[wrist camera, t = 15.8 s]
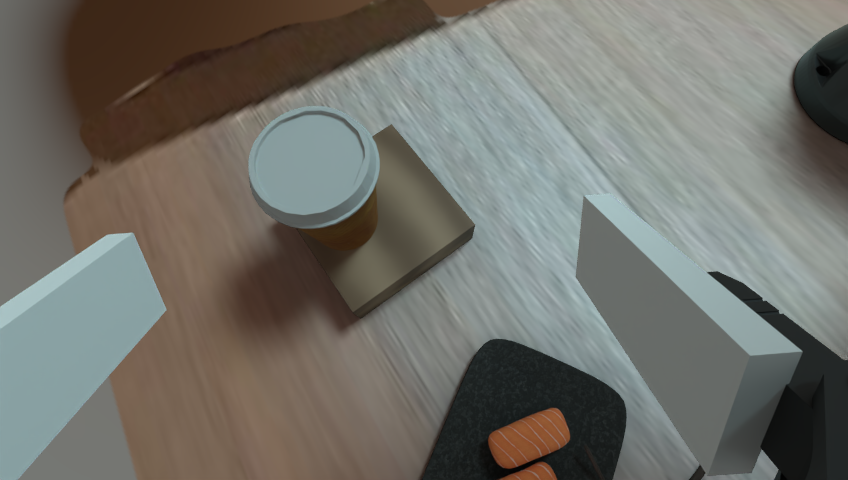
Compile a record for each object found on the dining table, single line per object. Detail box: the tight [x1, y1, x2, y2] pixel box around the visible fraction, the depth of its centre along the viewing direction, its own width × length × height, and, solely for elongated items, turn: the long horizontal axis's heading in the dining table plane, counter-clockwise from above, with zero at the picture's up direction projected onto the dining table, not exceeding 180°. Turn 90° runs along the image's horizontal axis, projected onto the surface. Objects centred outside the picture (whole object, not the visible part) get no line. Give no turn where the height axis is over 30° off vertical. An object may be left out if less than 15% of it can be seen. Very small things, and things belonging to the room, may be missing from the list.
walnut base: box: [296, 124, 475, 318], centre depth 43 cm, size 14×14×4 cm
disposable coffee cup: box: [249, 106, 380, 251], centre depth 35 cm, size 10×10×12 cm
